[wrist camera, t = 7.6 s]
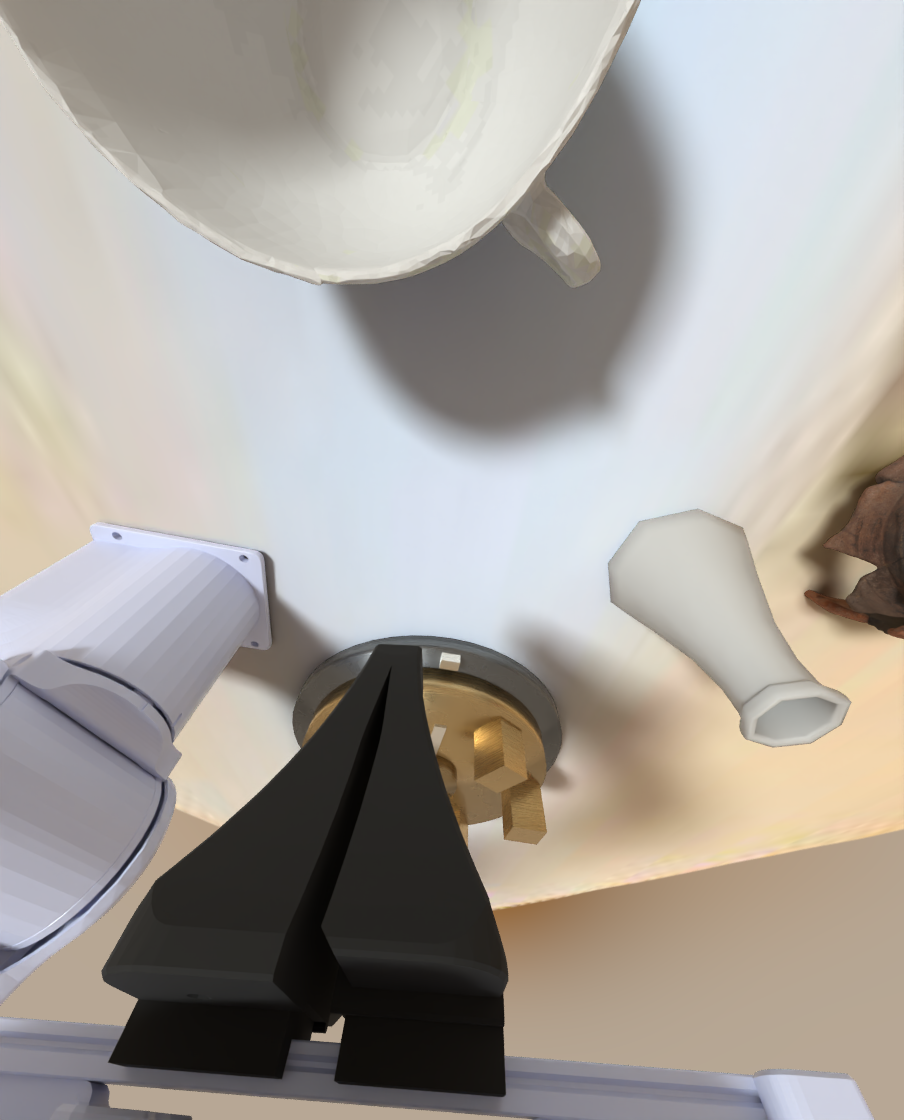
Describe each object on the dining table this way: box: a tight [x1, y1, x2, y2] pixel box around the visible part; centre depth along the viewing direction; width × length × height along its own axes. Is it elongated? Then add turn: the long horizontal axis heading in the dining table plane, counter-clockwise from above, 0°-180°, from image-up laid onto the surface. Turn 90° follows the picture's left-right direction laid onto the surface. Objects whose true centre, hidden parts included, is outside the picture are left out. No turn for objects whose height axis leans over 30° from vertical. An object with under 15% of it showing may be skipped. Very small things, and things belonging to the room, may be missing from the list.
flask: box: [608, 509, 851, 747], centre depth 17 cm, size 7×7×10 cm
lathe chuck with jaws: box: [302, 668, 547, 848], centre depth 28 cm, size 18×18×5 cm
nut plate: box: [293, 636, 562, 772], centre depth 30 cm, size 21×21×2 cm
